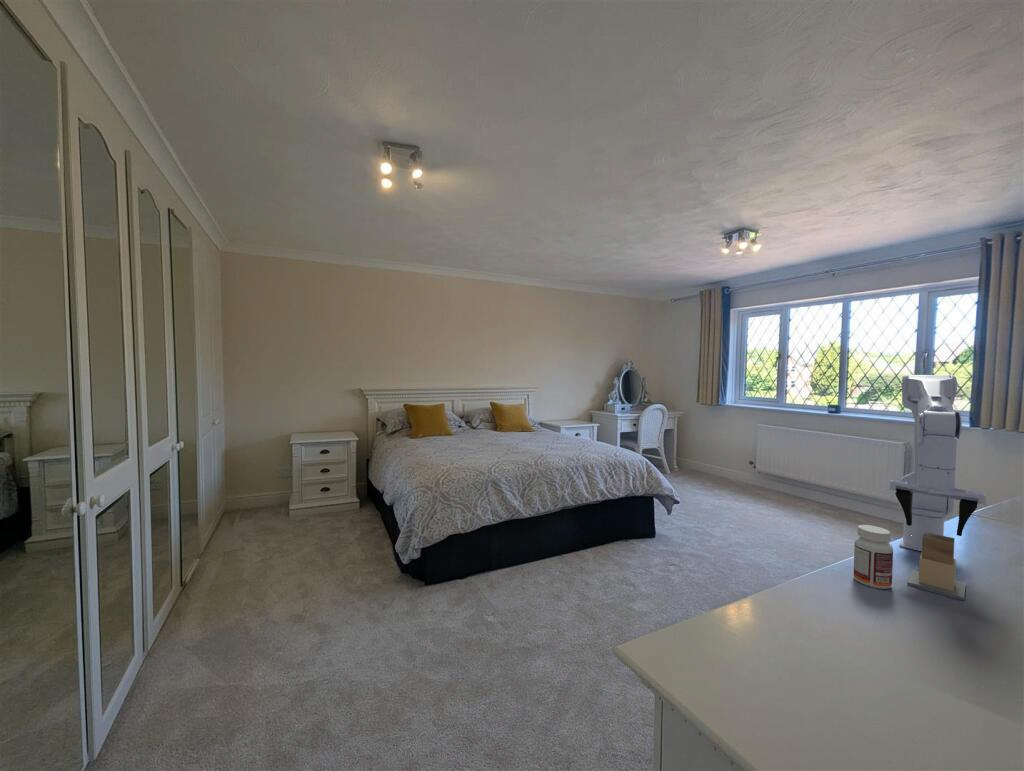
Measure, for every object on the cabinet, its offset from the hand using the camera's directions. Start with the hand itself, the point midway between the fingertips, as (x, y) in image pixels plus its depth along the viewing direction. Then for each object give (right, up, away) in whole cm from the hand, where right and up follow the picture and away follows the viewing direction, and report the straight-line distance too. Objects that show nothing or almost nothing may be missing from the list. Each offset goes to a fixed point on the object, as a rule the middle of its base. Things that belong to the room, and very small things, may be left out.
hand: (933, 529), depth 91 cm
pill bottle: (-16, -10, -3) cm, 19 cm away
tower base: (-3, -10, -4) cm, 11 cm away
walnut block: (-3, -5, -4) cm, 7 cm away
